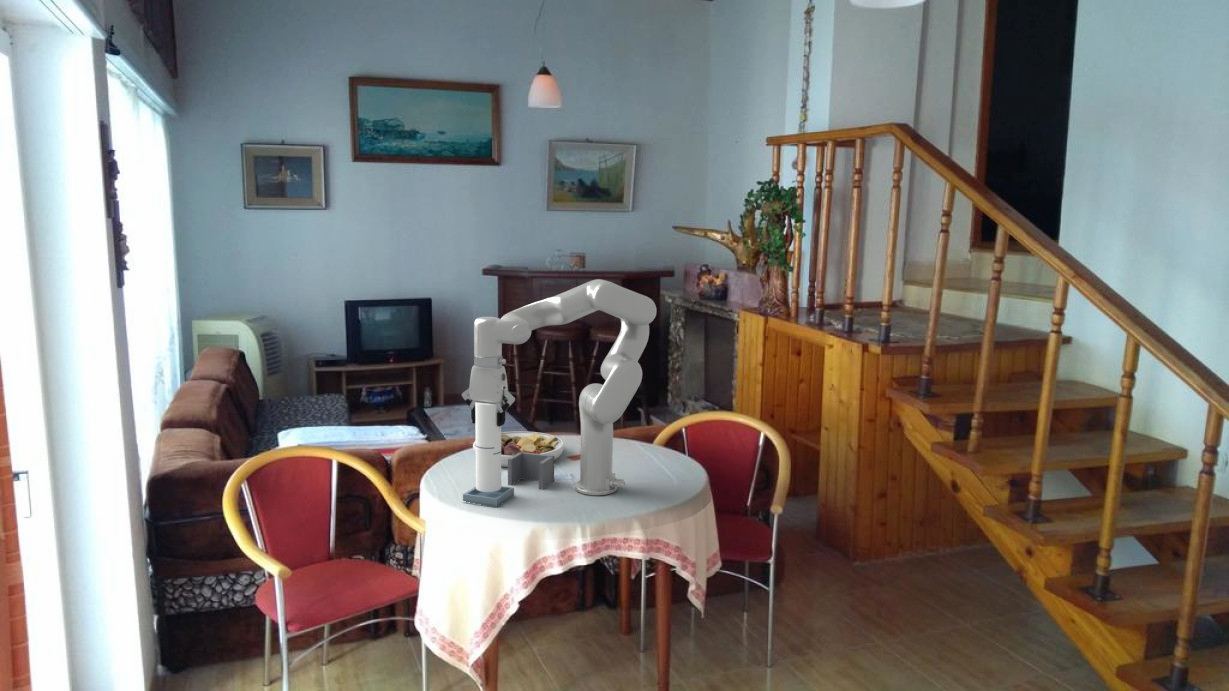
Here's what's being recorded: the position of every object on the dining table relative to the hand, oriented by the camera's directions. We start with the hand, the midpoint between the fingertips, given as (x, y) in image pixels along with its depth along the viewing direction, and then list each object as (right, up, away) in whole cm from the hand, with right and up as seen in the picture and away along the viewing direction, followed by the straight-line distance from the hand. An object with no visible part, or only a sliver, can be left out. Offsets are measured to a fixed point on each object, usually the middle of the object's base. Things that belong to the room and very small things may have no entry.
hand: (488, 423), depth 234 cm
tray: (0, -22, +4) cm, 22 cm away
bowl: (+3, -16, +45) cm, 48 cm away
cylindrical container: (0, -19, +3) cm, 19 cm away
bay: (+10, -20, +18) cm, 29 cm away
